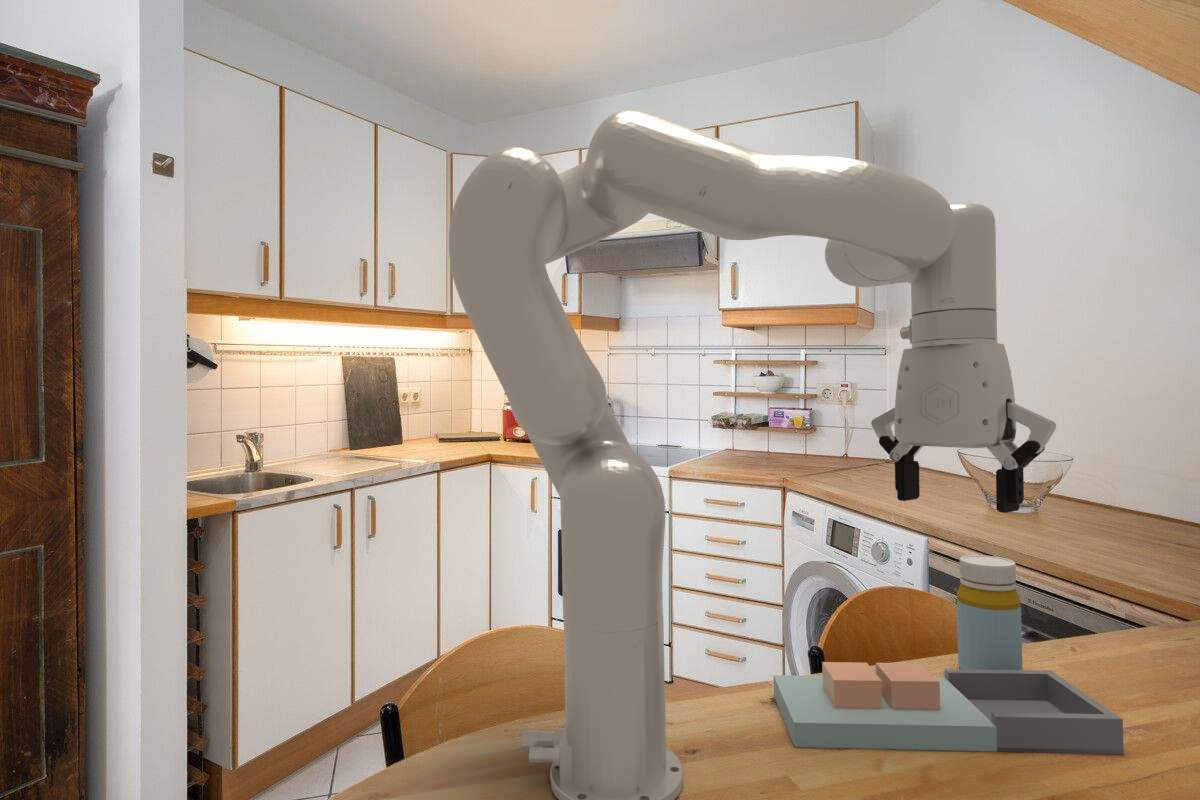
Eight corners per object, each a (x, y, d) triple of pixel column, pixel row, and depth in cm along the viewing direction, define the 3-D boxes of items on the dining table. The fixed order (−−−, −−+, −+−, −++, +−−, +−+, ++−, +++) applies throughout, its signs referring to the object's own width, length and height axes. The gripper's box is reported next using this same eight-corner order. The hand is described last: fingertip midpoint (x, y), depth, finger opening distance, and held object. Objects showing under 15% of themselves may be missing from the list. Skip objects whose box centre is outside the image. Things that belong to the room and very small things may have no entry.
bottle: (1004, 668, 87) (1002, 554, 87) (1034, 691, 80) (1031, 567, 80) (949, 667, 88) (946, 554, 88) (973, 690, 81) (970, 567, 81)
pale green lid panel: (794, 746, 68) (793, 722, 68) (773, 695, 80) (773, 675, 80) (997, 751, 66) (996, 726, 66) (945, 698, 78) (944, 677, 78)
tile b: (891, 709, 71) (891, 680, 71) (876, 688, 76) (875, 662, 76) (940, 709, 70) (939, 681, 70) (921, 689, 75) (920, 663, 75)
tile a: (834, 707, 71) (833, 680, 71) (822, 688, 76) (822, 662, 76) (882, 708, 71) (881, 680, 71) (867, 688, 76) (866, 662, 76)
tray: (997, 751, 66) (996, 716, 66) (945, 698, 78) (944, 669, 78) (1123, 754, 65) (1122, 719, 65) (1051, 700, 77) (1050, 670, 77)
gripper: (853, 338, 71) (855, 499, 70) (1034, 321, 56) (1036, 521, 56) (892, 342, 75) (893, 493, 75) (1068, 326, 61) (1071, 512, 61)
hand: (955, 505), depth 66 cm, fingers open, 9 cm apart
